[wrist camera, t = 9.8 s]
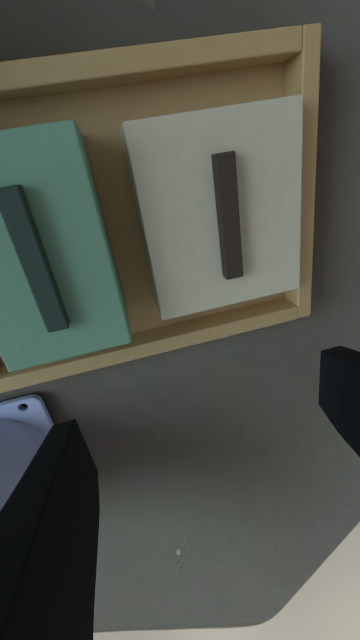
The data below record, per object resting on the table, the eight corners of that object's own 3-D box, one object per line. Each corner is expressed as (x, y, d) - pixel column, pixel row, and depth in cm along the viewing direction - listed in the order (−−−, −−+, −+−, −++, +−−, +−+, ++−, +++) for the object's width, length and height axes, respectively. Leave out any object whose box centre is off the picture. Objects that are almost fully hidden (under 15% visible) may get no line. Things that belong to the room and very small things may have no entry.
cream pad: (154, 301, 17) (164, 326, 14) (119, 129, 13) (123, 118, 11) (275, 274, 18) (306, 292, 15) (273, 105, 14) (313, 89, 11)
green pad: (29, 329, 16) (4, 381, 12) (-45, 153, 12) (-117, 142, 8) (126, 307, 17) (133, 349, 13) (82, 133, 13) (73, 115, 9)
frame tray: (-5, 373, 17) (-18, 398, 15) (-146, 98, 12) (-195, 84, 10) (291, 302, 19) (311, 316, 18) (293, 42, 14) (322, 21, 12)
